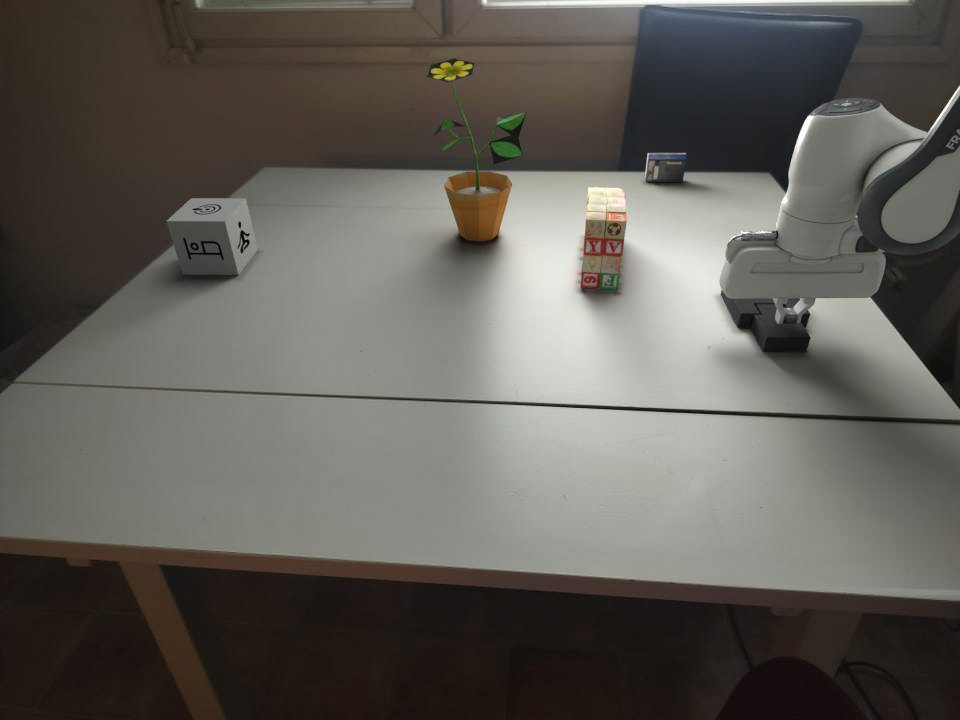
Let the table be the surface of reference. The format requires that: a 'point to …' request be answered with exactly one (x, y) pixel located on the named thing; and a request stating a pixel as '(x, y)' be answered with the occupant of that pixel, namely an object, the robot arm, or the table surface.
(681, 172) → the mini dv tape
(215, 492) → the table surface
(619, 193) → the stack of blocks
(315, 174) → the table surface
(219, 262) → the icon cube
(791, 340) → the black tabbed insert block
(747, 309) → the base
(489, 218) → the potted plant
